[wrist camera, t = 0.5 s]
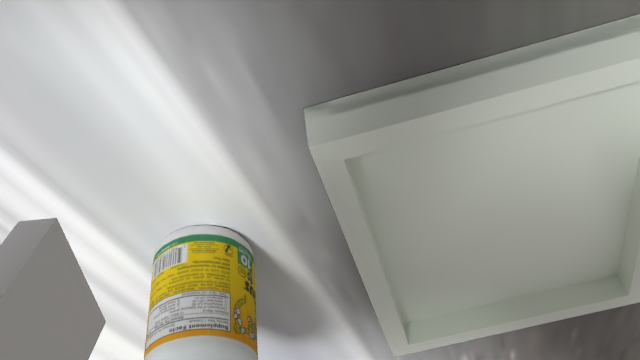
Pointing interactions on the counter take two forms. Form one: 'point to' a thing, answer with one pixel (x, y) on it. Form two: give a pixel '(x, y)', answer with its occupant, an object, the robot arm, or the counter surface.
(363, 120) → the tray
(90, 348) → the robot arm
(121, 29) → the counter surface
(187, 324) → the supplement bottle
